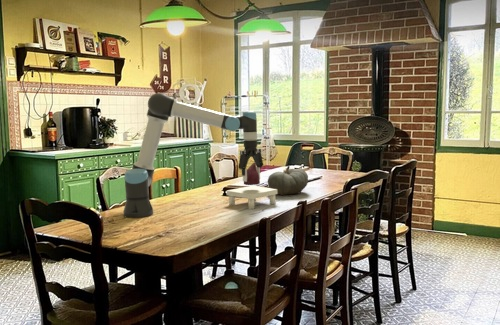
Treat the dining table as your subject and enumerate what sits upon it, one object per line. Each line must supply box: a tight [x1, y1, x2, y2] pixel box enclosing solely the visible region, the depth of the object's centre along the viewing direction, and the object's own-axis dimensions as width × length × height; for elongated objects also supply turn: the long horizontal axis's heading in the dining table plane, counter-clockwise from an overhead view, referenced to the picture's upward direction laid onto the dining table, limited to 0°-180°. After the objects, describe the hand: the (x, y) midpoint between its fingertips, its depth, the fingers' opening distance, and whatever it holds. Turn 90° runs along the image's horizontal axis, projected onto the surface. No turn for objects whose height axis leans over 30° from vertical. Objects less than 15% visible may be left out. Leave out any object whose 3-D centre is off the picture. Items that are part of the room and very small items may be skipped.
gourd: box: [267, 165, 309, 196], centre depth 300 cm, size 25×25×17 cm
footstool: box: [226, 185, 278, 210], centre depth 272 cm, size 20×20×8 cm
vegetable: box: [243, 162, 261, 186], centre depth 270 cm, size 10×9×14 cm
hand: (251, 180), depth 270 cm, fingers closed on vegetable, 9 cm apart
